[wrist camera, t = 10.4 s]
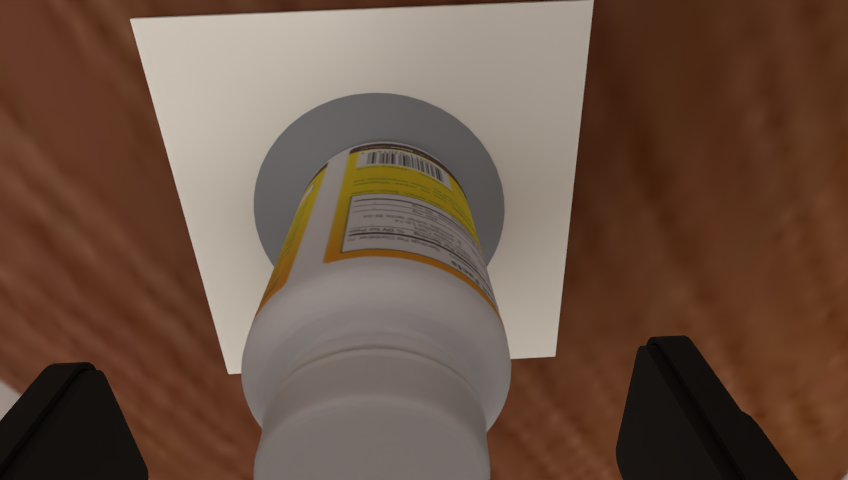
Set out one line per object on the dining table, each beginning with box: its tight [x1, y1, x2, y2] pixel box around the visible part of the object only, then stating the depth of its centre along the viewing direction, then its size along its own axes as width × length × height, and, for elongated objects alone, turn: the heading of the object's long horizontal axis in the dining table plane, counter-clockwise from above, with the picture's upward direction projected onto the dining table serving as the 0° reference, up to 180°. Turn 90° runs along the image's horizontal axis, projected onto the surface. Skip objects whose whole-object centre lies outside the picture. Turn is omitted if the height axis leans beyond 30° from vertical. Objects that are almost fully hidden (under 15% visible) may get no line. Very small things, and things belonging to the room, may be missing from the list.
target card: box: [130, 0, 594, 374], centre depth 18 cm, size 13×13×1 cm
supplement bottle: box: [241, 142, 511, 480], centre depth 13 cm, size 6×6×10 cm
